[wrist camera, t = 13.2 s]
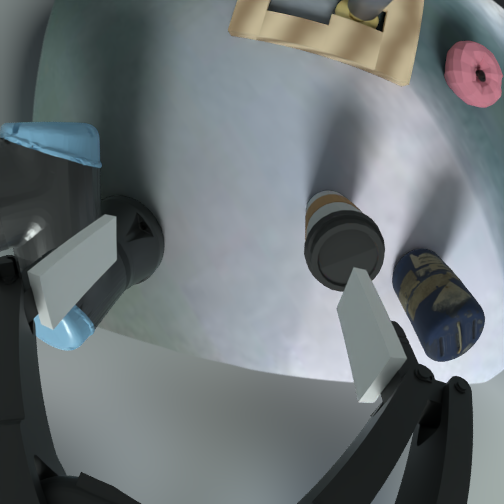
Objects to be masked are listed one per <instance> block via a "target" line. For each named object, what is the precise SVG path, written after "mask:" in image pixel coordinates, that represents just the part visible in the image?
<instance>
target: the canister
mask: <svg viewBox="0 0 504 504" xmlns="http://www.w3.org/2000/svg"><path fill="white" fill-rule="evenodd" d="M392 283H393V288H394V290H395V293H396V295H397V296H398V298H399V300H400V302H401V304H402V306H403V308H404V310H405V312H406V314H407V316H408V318H409V320H410V322H411V324H412V326H413V328H414V330H415V332H416V334H417V336H418V339H419V341H420V343H421V345H422V347H423V349H424V351H425V353H426V355H427V356H428V357H429V358H431V359H432V360H434V361H438V362H444V361H449V360H452V359H455V358H457V357H459V356H461V355H463V354H464V353H465V352H467V351H468V350H469V349H470V348H471V347H472V346H473V345H474V344H475V343H476V341H477V340H478V339H479V337H480V335H481V333H482V331H483V328H484V323H485V316H484V312H483V310H482V308H481V306H480V305H479V303H478V302H477V301H476V299H475V298H474V297H473V296H472V294H471V293H470V292H469V291H468V289H467V288H466V287H465V286H464V284H463V283H462V282H461V280H460V279H459V278H458V277H457V276H456V275H455V274H454V272H453V271H452V270H451V269H450V268H449V267H448V266H447V265H446V264H445V263H444V261H443V260H442V259H441V258H440V257H439V256H438V255H437V254H436V253H435V252H433V251H431V250H428V249H417V250H413V251H411V252H409V253H408V254H406V255H405V256H404V257H403V258H402V259H401V260H400V261H399V262H398V264H397V265H396V267H395V269H394V272H393V277H392Z"/></svg>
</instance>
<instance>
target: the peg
mask: <svg viewBox="0 0 504 504" xmlns="http://www.w3.org/2000/svg"><path fill="white" fill-rule="evenodd" d="M392 1H393V0H342V1H340V2H339V3H338V5H337V7H336V9H335V15H337V16H340V17H344V18H346V19H349V20H352V21H355V22H358V23H360V24H363V25H366V26H368V27H371V28H373V29H376V27H377V26H378V22H379V19H378V15H379V14H380V13H381V12H382V11H383V10H384V9H385V8H386V7H387V6H388V5H389V4H390V3H391V2H392Z"/></svg>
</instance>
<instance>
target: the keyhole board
mask: <svg viewBox="0 0 504 504" xmlns="http://www.w3.org/2000/svg"><path fill="white" fill-rule="evenodd" d="M269 4H270V0H237V3H236V6H235V9H234V12H233V16H232V19H231V22H230V25H229V28H228V31H229V33H230V34H231V36H236V37H243V38H249V39H254V40H260V41H265V42H270V43H274V44H279V45H283V46H288V47H292V48H296V49H300V50H303V51H307V52H311V53H314V54H317V55H321V56H324V57H327V58H330V59H334V60H337V61H340V62H342V63H345V64H348V65H351V66H354V67H356V68H359V69H362V70H364V71H367V72H369V73H372V74H374V75H377V76H379V77H381V78H384V79H386V80H388V81H391V82H393V83H395V84H397V85H399V86H406V85H409V82H410V77H411V73H412V68H413V64H414V59H415V54H416V49H417V43H418V38H419V32H420V26H421V20H422V13H423V5H424V0H393V1H392V2H391V3H390V4H389V5H388V6H387V7H386V8H385V9H384V10H383V11H384V12H386V15H385V20H384V25H383V29H382V32H381V31H378V30H376V29H373V28H371V27H368V26H366V25H363V24H360V23H358V22H355V21H352V20H349V19H346V18H344V17H340V16H337V15H334V14H332V15H331V18H330V21H329V25H325V24H322V23H319V22H315V21H311V20H308V19H304V18H300V17H296V16H291V15H287V14H282V13H277V12H272V11H267V10H268V7H269Z"/></svg>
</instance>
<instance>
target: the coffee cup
mask: <svg viewBox="0 0 504 504" xmlns="http://www.w3.org/2000/svg"><path fill="white" fill-rule="evenodd" d="M305 240H306V241H305V247H304V255H305V259H306V263H307V265H308V268H309V270H310V271H311V273H312V275H313V276H314V277H315V278H316V279H317V280H318V281H319V282H320V283H322V284H323V285H324V286H326V287H328V288H330V289H332V290H336V291H344V290H345V287H346V285H347V282H348V280H349V277H350V275H351V272H352V270H353V267H355V268H359V269H364V270H366V271H367V273H368V275H369V277H370V279H371V281H372V280H373V279H374V278H375V277H376V276H377V274H378V273H379V271H380V269H381V267H382V265H383V260H384V252H385V246H384V239H383V237H382V235H381V232H380V230H379V228H378V226H377V225H376V224H375V222H374V221H373V220H372V219H371V218H369V217H368V216H366V215H365V214H363V213H362V212H361V210H360V209H358V208H357V207H356V206H355V205H354V204H353V203H352V202H351V201H349V200H348V199H347V198H345V197H344V196H343V195H341V194H340V193H338V192H335V191H327V190H326V191H322V192H319V193H317V194H316V195H314V196H313V197H312V198H311V199H310V201H309V202H308V204H307V208H306V216H305Z"/></svg>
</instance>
